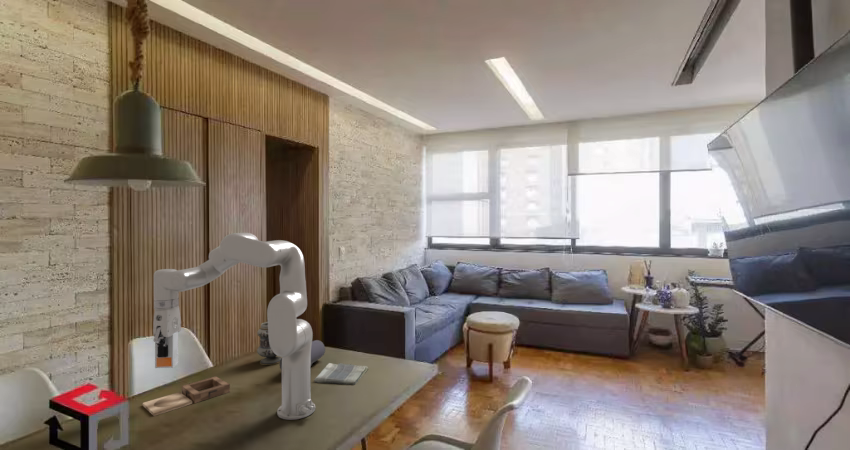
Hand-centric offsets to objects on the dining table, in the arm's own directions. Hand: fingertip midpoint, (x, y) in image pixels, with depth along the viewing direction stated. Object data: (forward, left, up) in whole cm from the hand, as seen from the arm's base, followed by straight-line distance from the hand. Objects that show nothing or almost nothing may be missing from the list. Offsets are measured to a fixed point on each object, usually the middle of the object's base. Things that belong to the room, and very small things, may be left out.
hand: (166, 354), depth 145 cm
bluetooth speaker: (-6, -52, -19) cm, 56 cm away
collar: (0, -13, -18) cm, 22 cm away
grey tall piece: (+13, -47, -19) cm, 52 cm away
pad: (0, 0, -18) cm, 18 cm away
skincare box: (0, 0, -5) cm, 5 cm away
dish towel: (-26, -58, -19) cm, 66 cm away
